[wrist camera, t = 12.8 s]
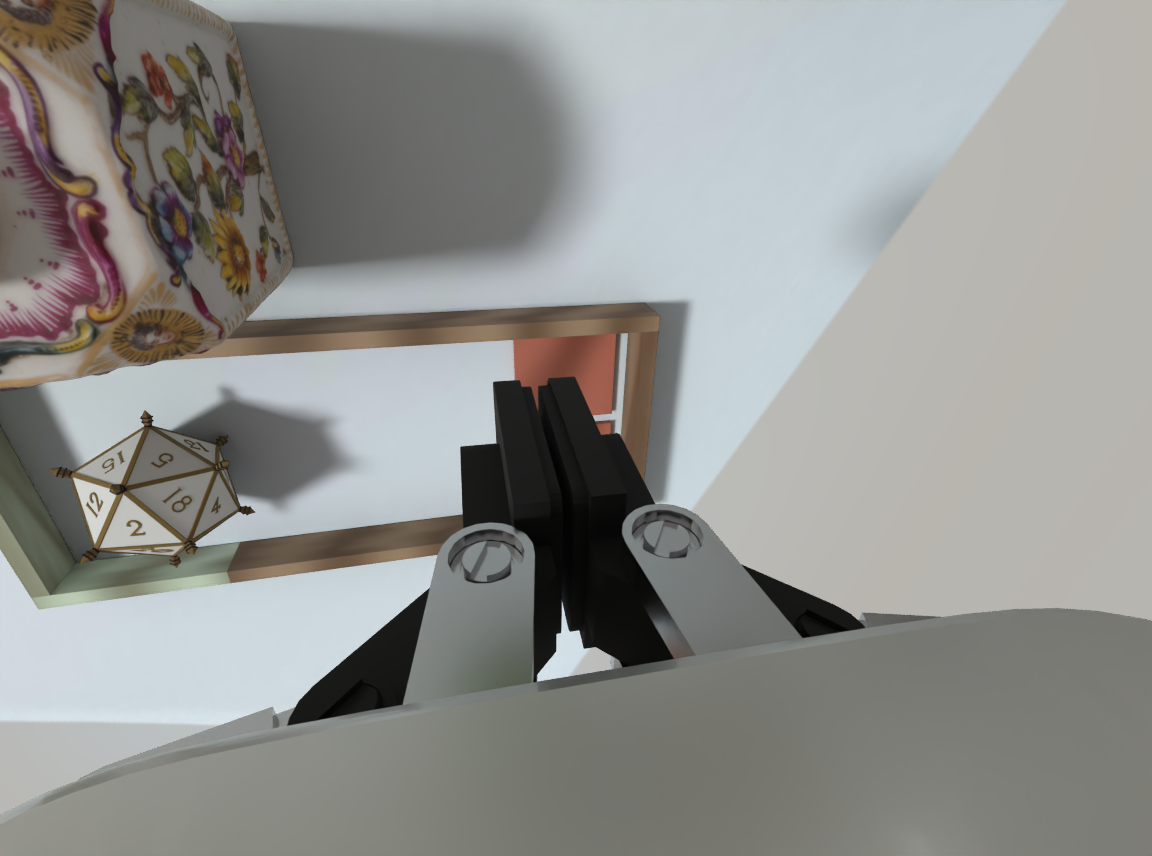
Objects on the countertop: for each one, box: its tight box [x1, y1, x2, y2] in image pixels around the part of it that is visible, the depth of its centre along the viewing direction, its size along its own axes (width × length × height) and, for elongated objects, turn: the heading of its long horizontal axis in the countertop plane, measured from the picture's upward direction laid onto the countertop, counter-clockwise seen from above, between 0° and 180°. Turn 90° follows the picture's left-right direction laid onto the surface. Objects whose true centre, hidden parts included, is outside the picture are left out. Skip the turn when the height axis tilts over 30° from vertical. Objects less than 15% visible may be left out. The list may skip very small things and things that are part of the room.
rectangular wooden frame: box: [0, 303, 660, 609], centre depth 36 cm, size 40×17×3 cm, turn 89°
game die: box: [49, 411, 255, 568], centre depth 32 cm, size 9×8×10 cm
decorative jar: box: [0, 0, 293, 391], centre depth 20 cm, size 12×12×18 cm
